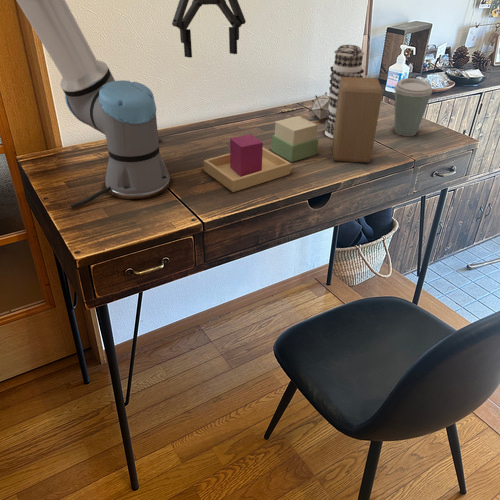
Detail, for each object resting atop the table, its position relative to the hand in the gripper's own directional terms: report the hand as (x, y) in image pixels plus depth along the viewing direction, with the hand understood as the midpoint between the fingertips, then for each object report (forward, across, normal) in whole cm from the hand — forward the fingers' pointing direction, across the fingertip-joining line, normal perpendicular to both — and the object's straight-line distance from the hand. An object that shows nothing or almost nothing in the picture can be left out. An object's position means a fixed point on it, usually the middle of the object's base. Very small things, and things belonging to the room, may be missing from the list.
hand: (211, 55), depth 128 cm
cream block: (+20, +16, -17) cm, 31 cm away
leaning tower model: (+24, +36, -13) cm, 45 cm away
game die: (+22, +40, -1) cm, 45 cm away
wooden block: (+26, +28, -26) cm, 46 cm away
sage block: (+25, +16, -16) cm, 34 cm away
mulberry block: (+26, -2, -20) cm, 32 cm away
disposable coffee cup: (+24, +54, -22) cm, 63 cm away
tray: (+26, -2, -20) cm, 33 cm away
